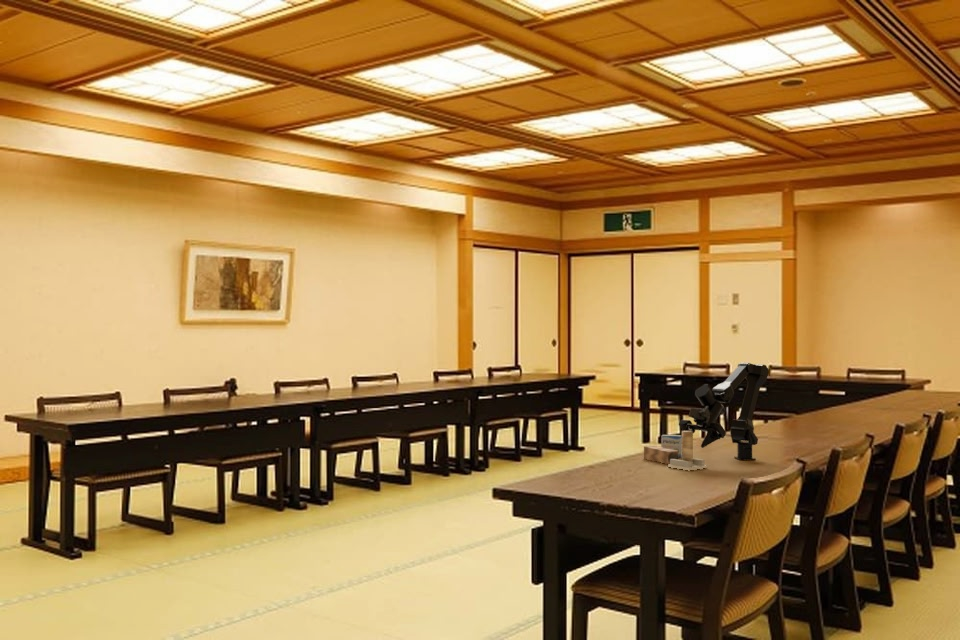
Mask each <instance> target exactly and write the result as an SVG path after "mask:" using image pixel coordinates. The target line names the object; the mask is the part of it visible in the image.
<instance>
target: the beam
mask: <svg viewBox="0 0 960 640" xmlns="http://www.w3.org/2000/svg"><path fill="white" fill-rule="evenodd" d="M679 458H680V457H679V454H678V451H676V450H672V449H667V448H662V447H661V446H657V445H645V446H644V445H643V459H644V460H646V459H647V461H650V460H652V461H651V462H654V461H657V462H656V463H658V462H661V463H660V464H662V463H665V464H664V465H667V464H670V459H677V460H680V459H679Z"/></svg>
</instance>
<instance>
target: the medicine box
mask: <svg viewBox="0 0 960 640" xmlns="http://www.w3.org/2000/svg"><path fill="white" fill-rule="evenodd" d="M660 442H661V446H660V447H662V448H667V449H672V450H676V451H678V454H679V458H682V434H681V435H678V434H677V435H676V434H662V435H661V441H660Z"/></svg>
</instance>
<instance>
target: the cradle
mask: <svg viewBox="0 0 960 640" xmlns="http://www.w3.org/2000/svg"><path fill="white" fill-rule="evenodd" d="M668 467H671V468H670V469H673V468H677V469H676V470H679V469H683V470H682V471H685V470H688V471H687V472H691V471H690V470H694V471H698V470H697V469H700V470H704V469H703V468H707V465H706V464H705V459H701V458H694V457H693V465H692V462H690V461H684V460H682V459H679V460H677V459H670V464H668V465H667V468H668Z"/></svg>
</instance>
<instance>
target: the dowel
mask: <svg viewBox="0 0 960 640" xmlns="http://www.w3.org/2000/svg"><path fill="white" fill-rule="evenodd" d="M681 435H682V456H681V460H684V461H690V462H692V465H693V458H694V451H693V449H694V448H693V447H694V446H693V445H694V441H693V440H694V438H693V437H694V433H693V431H683V430H681Z"/></svg>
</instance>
